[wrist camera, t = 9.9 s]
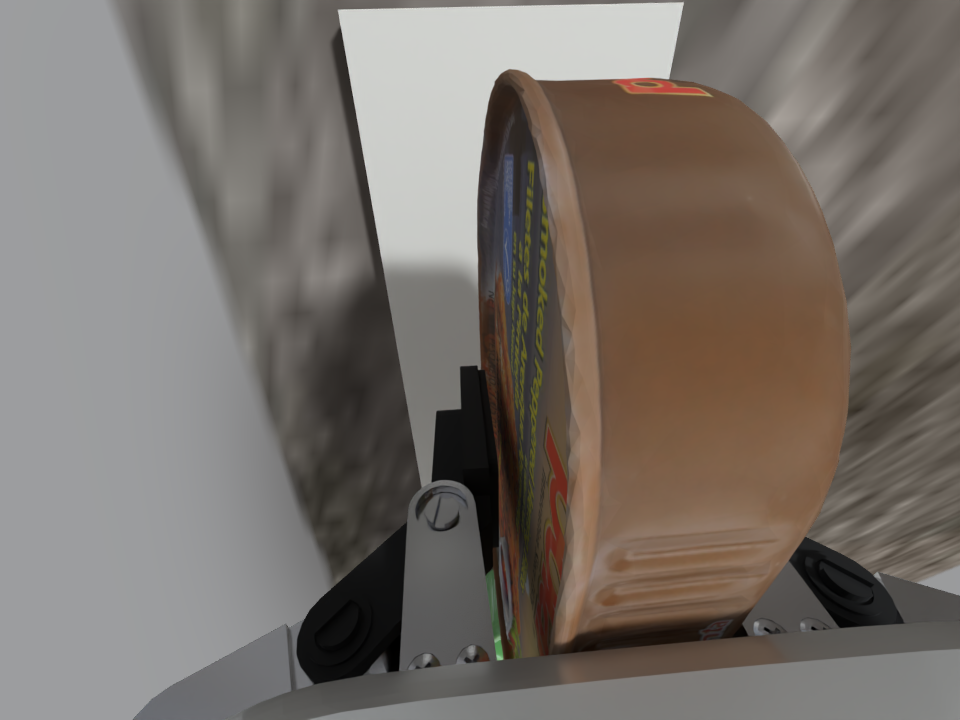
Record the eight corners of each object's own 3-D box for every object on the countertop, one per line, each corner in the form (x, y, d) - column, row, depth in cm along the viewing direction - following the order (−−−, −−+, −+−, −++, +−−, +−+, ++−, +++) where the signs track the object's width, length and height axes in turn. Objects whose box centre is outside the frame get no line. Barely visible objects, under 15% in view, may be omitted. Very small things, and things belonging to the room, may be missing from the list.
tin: (472, 109, 8) (475, -278, 1) (608, 105, 8) (1843, -318, 1) (485, 516, 16) (496, 826, 9) (554, 514, 16) (624, 821, 9)
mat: (584, 489, 20) (587, 498, 19) (426, 501, 20) (425, 511, 19) (671, 10, 10) (683, 2, 9) (344, 17, 9) (337, 9, 9)
